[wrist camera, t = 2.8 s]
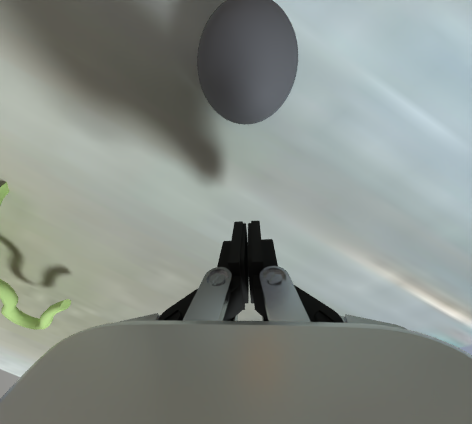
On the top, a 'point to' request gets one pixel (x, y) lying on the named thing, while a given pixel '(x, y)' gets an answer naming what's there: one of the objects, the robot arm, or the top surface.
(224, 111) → the dark gray ball
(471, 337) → the top surface
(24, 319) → the figurine
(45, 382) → the robot arm
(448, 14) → the top surface
